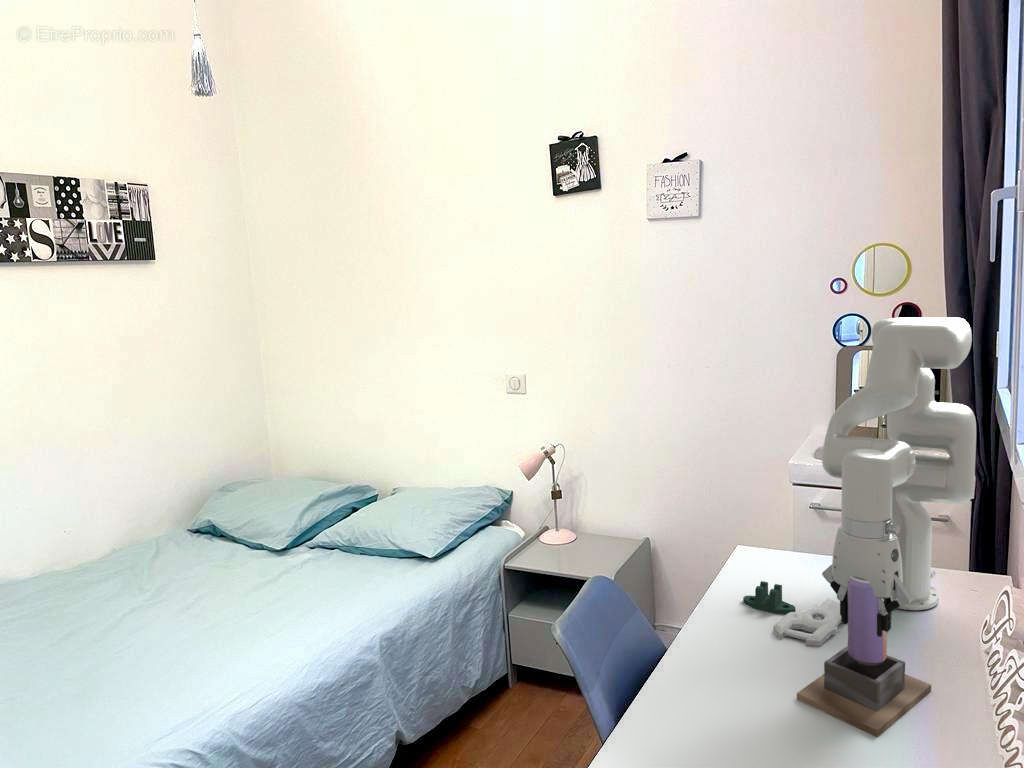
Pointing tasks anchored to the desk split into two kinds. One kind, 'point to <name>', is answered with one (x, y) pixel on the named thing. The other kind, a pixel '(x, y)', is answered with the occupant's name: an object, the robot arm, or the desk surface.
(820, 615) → the grey mechanical plate
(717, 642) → the desk surface
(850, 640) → the beverage can
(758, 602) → the mount
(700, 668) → the desk surface
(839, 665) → the can dock
